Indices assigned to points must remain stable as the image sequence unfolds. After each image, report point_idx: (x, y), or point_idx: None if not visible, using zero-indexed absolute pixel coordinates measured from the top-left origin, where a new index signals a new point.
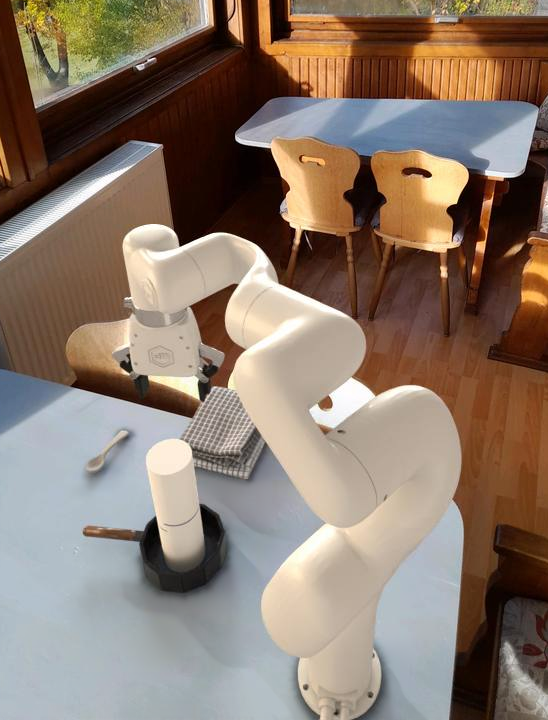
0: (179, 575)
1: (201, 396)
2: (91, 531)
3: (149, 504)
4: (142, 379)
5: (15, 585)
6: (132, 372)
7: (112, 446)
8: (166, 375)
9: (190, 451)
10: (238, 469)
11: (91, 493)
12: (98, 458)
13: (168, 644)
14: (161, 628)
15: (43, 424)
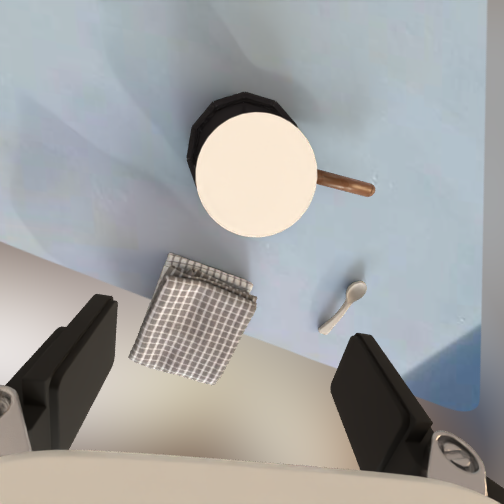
0: (246, 94)
1: (89, 312)
2: (365, 185)
3: (290, 232)
4: (386, 423)
5: (442, 141)
6: (481, 486)
7: (337, 313)
8: (251, 479)
9: (200, 188)
10: (179, 264)
11: (358, 255)
12: (352, 299)
13: (259, 21)
14: (269, 48)
15: (411, 349)
